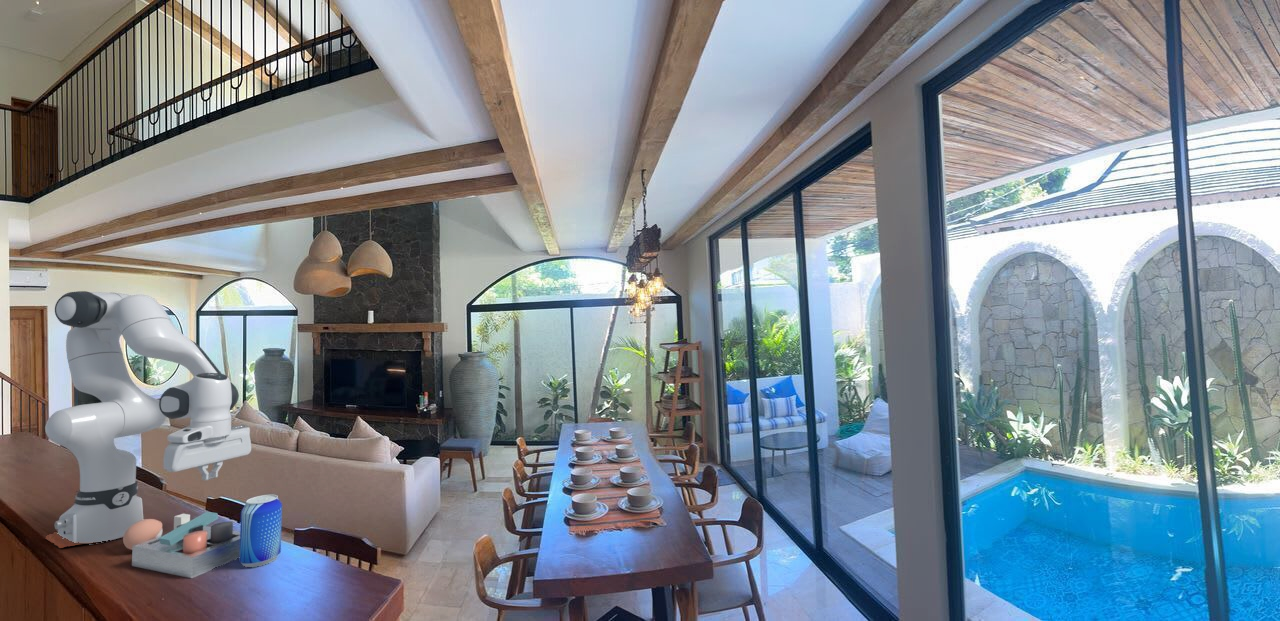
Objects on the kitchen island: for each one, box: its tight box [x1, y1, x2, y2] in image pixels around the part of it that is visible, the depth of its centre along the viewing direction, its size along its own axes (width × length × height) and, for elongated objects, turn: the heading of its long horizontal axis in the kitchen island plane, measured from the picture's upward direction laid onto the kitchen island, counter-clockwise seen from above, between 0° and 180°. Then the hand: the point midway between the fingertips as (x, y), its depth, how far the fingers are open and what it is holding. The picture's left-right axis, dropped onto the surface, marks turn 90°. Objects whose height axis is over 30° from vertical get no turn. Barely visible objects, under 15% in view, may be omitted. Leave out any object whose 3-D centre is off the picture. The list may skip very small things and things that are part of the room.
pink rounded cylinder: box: [183, 531, 207, 555], centre depth 121 cm, size 4×4×6 cm
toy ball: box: [122, 518, 164, 551], centre depth 131 cm, size 8×8×8 cm
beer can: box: [238, 494, 283, 568], centre depth 125 cm, size 8×8×16 cm
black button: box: [210, 521, 234, 544], centre depth 127 cm, size 4×4×6 cm
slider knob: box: [173, 513, 191, 530], centre depth 130 cm, size 3×2×4 cm
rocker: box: [159, 511, 220, 546], centre depth 126 cm, size 4×11×2 cm, turn 164°
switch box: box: [131, 524, 240, 579], centre depth 126 cm, size 22×14×8 cm, turn 74°
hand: (209, 479), depth 137 cm, fingers closed
